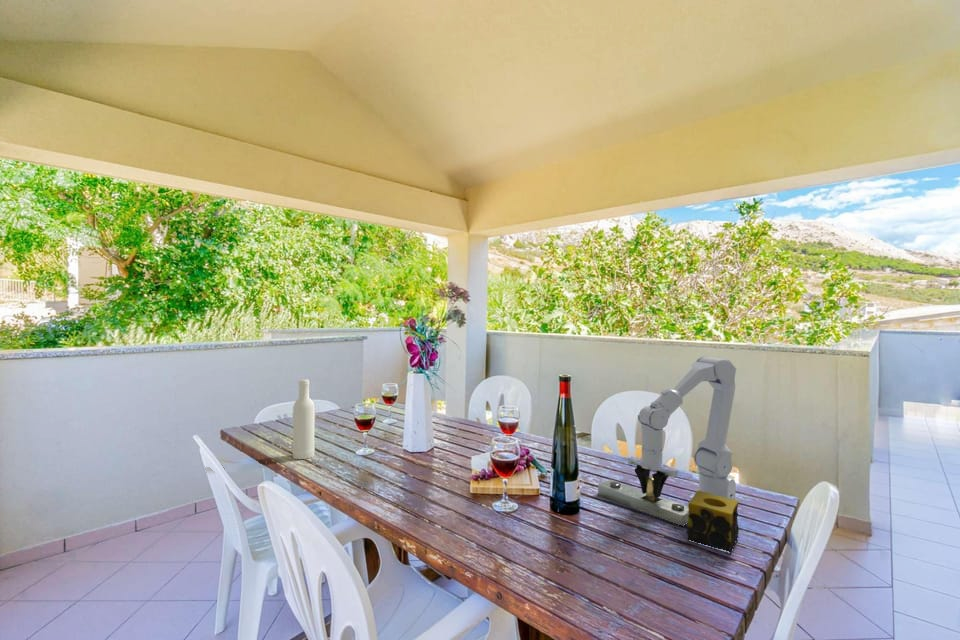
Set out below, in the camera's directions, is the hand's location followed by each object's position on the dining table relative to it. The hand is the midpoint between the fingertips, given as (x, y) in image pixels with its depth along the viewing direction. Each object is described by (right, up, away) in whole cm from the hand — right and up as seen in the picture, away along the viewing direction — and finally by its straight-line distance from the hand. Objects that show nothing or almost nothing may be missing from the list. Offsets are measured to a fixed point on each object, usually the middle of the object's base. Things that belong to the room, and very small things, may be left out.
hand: (651, 494), depth 128 cm
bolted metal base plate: (-2, -4, +2) cm, 5 cm away
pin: (0, -2, 0) cm, 2 cm away
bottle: (-119, -2, +43) cm, 127 cm away
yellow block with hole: (+9, -5, -17) cm, 20 cm away
